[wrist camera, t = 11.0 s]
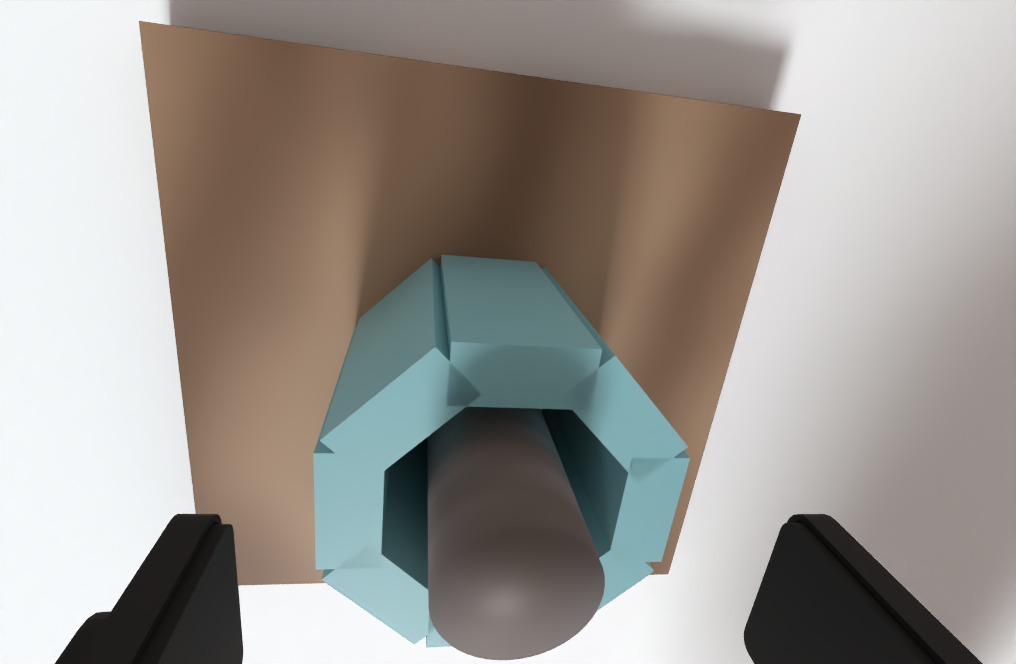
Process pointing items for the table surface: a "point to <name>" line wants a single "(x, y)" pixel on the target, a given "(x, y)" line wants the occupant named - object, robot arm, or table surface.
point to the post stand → (429, 234)
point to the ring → (481, 383)
